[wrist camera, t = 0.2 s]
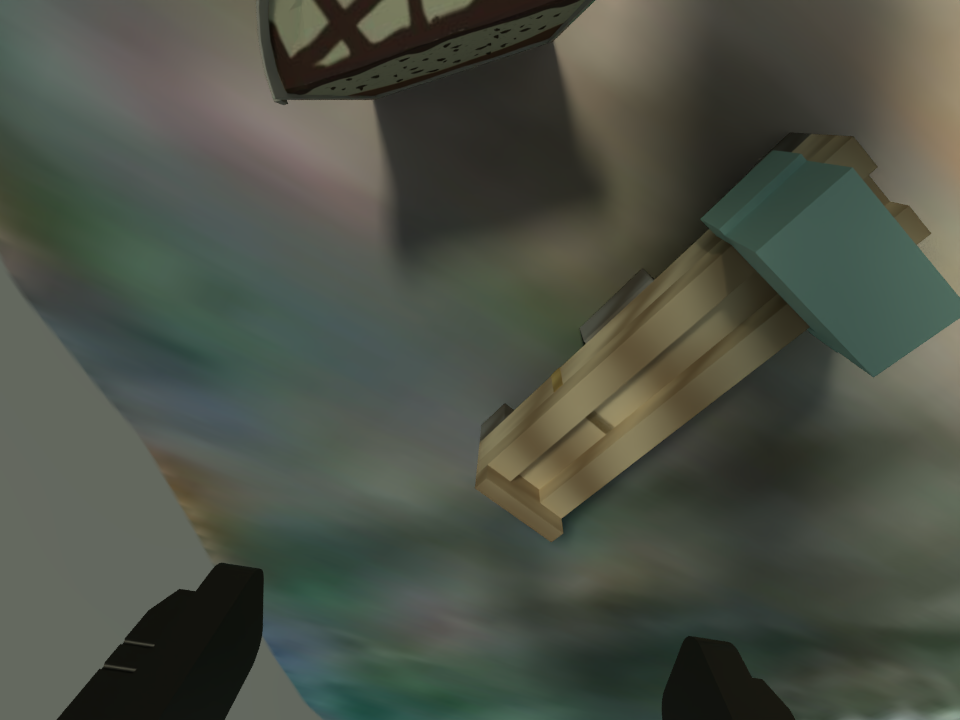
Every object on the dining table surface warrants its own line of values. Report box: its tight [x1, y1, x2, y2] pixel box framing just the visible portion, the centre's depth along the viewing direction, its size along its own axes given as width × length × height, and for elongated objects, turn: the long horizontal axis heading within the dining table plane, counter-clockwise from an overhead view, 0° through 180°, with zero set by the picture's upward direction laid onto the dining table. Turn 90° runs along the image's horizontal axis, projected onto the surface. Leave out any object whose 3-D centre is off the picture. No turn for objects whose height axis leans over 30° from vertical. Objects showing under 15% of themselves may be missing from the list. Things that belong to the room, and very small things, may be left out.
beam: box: [475, 133, 931, 542], centre depth 27 cm, size 24×6×6 cm, turn 140°
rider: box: [700, 150, 960, 377], centre depth 21 cm, size 4×9×5 cm, turn 50°
